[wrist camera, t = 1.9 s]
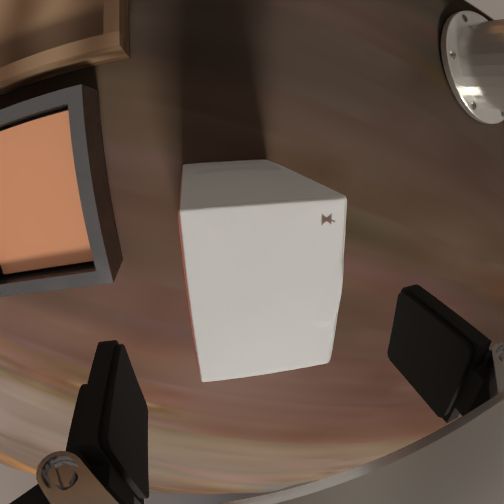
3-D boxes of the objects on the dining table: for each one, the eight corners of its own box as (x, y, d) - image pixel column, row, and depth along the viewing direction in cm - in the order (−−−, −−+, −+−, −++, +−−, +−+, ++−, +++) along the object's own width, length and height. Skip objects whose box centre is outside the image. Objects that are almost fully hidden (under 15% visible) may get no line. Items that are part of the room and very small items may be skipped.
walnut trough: (132, -73, 14) (127, -98, 10) (130, 58, 19) (119, 45, 15) (-31, -12, 11) (-52, -23, 7) (-41, 113, 16) (-69, 115, 12)
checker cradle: (98, 90, 19) (81, 84, 15) (122, 259, 24) (113, 282, 20) (-20, 127, 17) (-48, 130, 14) (11, 275, 22) (-9, 297, 19)
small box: (180, 163, 22) (174, 205, 10) (267, 157, 23) (352, 193, 12) (190, 267, 25) (200, 386, 14) (269, 259, 26) (334, 364, 15)
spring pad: (75, 110, 18) (70, 109, 17) (98, 255, 22) (95, 260, 21) (-19, 140, 16) (-26, 141, 15) (8, 269, 20) (3, 274, 19)
